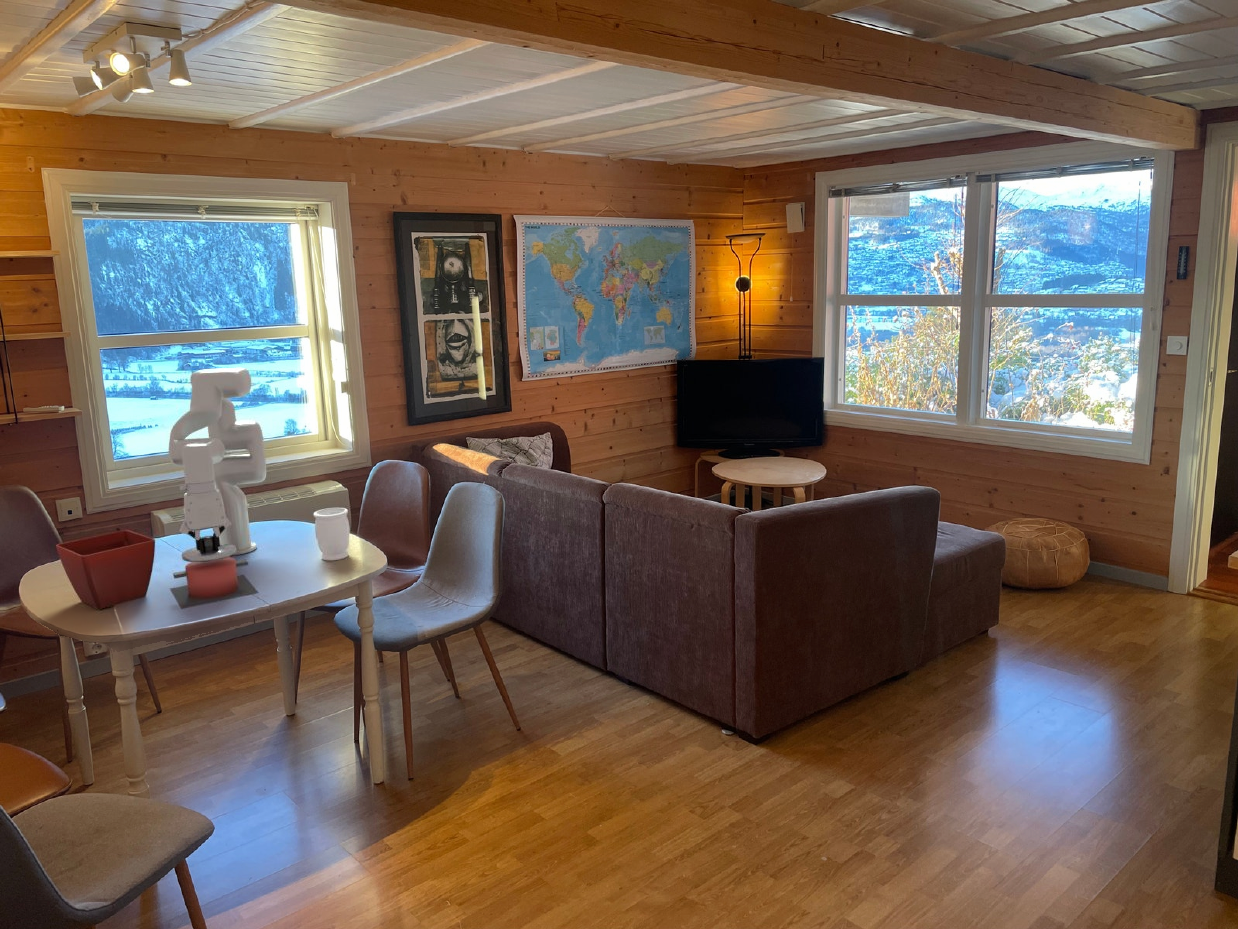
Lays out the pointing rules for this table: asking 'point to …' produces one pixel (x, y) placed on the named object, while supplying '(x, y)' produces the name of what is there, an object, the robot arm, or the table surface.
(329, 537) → the jar
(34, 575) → the table surface
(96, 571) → the plant pot
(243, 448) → the robot arm
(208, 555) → the lid
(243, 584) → the plate
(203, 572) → the pot
